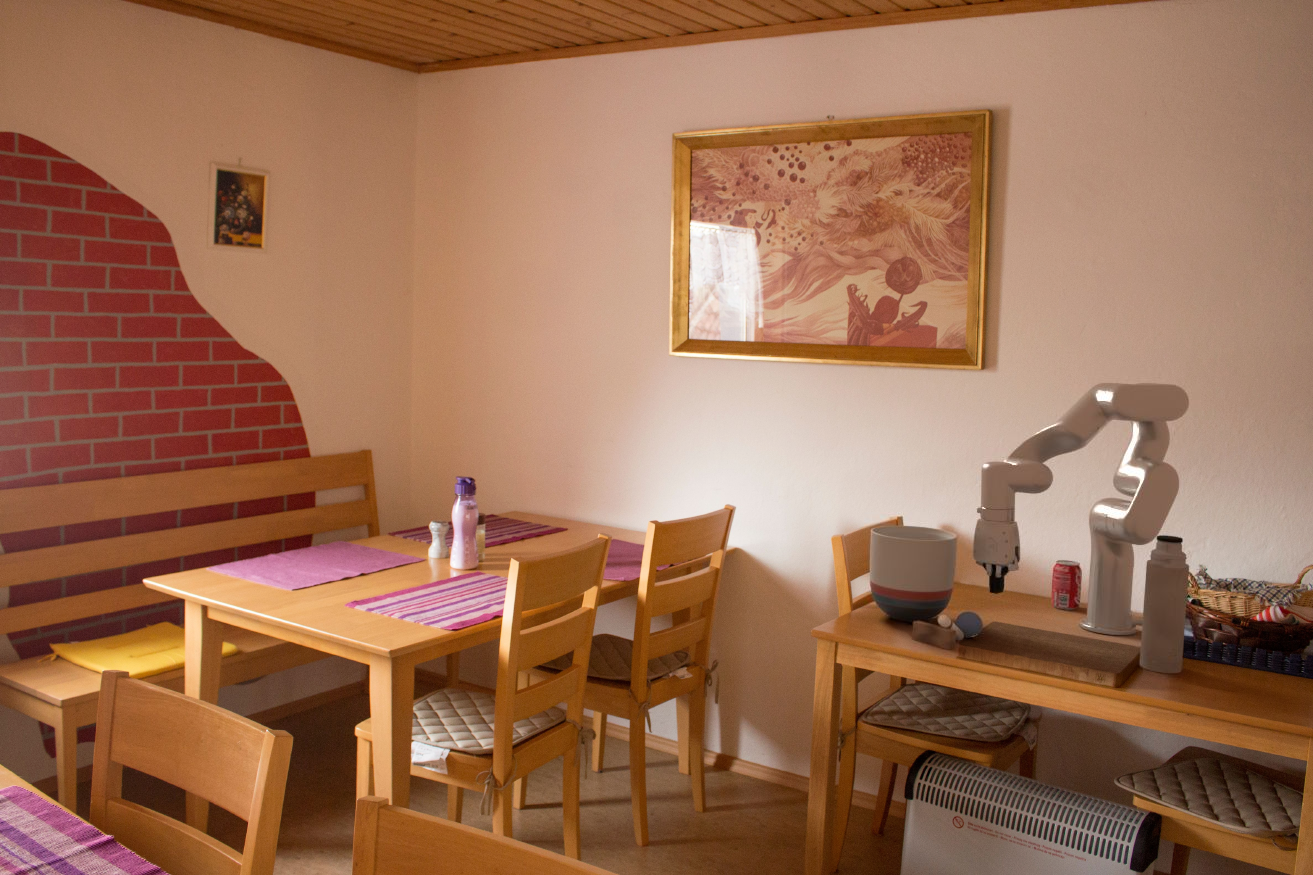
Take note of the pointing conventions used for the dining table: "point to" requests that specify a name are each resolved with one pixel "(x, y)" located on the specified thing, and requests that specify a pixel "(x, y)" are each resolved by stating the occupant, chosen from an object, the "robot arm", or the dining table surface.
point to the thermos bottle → (1164, 607)
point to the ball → (969, 623)
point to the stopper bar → (934, 635)
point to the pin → (950, 626)
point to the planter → (912, 571)
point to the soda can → (1066, 585)
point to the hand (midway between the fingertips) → (996, 592)
